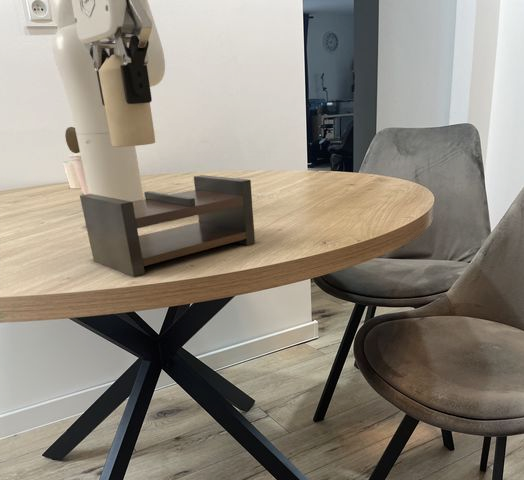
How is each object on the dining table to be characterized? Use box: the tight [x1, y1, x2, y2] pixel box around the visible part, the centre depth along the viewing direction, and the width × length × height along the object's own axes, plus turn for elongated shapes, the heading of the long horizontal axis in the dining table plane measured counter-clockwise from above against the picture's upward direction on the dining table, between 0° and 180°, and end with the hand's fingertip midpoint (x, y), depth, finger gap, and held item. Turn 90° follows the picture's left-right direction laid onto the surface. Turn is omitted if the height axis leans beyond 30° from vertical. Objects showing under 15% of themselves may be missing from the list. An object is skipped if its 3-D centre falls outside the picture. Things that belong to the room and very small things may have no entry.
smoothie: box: [69, 152, 89, 195], centre depth 130 cm, size 6×6×14 cm
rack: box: [79, 174, 256, 278], centre depth 72 cm, size 12×20×9 cm, turn 131°
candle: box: [99, 55, 156, 147], centre depth 63 cm, size 6×6×10 cm
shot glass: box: [62, 160, 82, 189], centre depth 145 cm, size 7×7×7 cm
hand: (126, 102), depth 63 cm, fingers closed on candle, 5 cm apart
